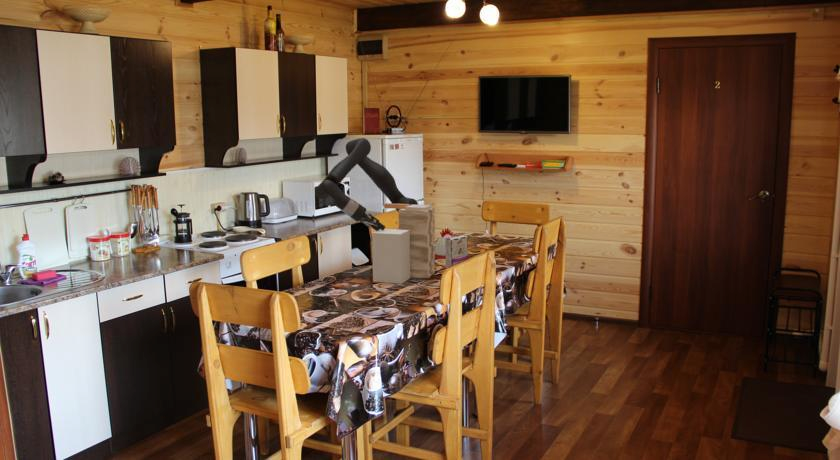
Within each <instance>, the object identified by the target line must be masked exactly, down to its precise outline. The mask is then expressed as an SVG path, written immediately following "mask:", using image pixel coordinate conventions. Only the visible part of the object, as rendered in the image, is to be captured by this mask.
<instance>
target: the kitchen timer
mask: <svg viewBox="0 0 840 460" xmlns="http://www.w3.org/2000/svg"><path fill="white" fill-rule="evenodd" d="M439 233H440V238H438V239H437V242H435V258H437V259H445V260H446V247H445V238H451V237H453V234H454V233H453V231H452V230H451V229H449V228H448V227H447V228H445V229H442V228H441V231H439Z"/></svg>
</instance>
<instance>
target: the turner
mask: <svg viewBox="0 0 840 460" xmlns="http://www.w3.org/2000/svg"><path fill="white" fill-rule="evenodd" d="M432 206H433V205H431V204H430V205H429V204H418V205H410V204H392V203H391V202H390V203H384V204H383V209H393V210H394V209H395V210H396V209H405V210H418V211H426V210H428V209H431V208H433V207H432Z"/></svg>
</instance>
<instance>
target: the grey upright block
mask: <svg viewBox="0 0 840 460" xmlns="http://www.w3.org/2000/svg"><path fill="white" fill-rule="evenodd" d="M371 247H372V250H371V251H372V252H371V253H372V282H374V283H387V284H397V285H402V284H403V283H405V282H406V281H408V280H410V279H411V277H410V230H399V228H398V229H397V228H396V229H395V228H385V229H384V230H381V229H380V230H378V231H376V230H375V231H372V232H371Z"/></svg>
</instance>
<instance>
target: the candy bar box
mask: <svg viewBox="0 0 840 460" xmlns="http://www.w3.org/2000/svg"><path fill="white" fill-rule="evenodd" d="M468 240H469V236H466V235H457V236H452V237H451V238H445V247H446V259H445V269H446V268H448V267H450V266H453V265H455V264H457V263H459V262H462V261H464V260H467V259H468V260H469V241H468Z"/></svg>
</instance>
